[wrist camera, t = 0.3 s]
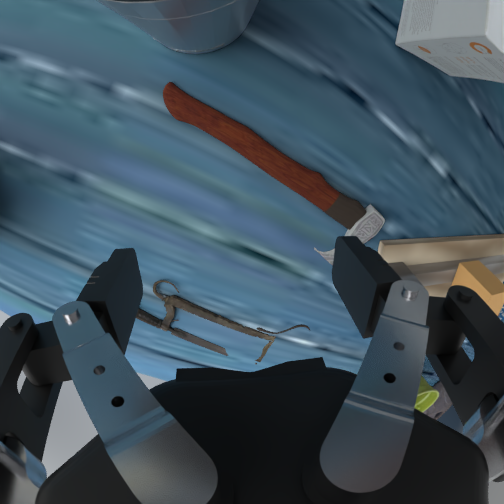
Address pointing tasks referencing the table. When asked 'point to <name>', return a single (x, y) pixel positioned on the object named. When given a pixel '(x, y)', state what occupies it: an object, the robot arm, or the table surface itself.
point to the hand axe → (276, 165)
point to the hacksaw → (199, 311)
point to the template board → (442, 258)
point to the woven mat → (501, 313)
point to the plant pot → (425, 396)
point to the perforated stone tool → (439, 403)
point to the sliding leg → (481, 283)
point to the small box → (456, 36)
